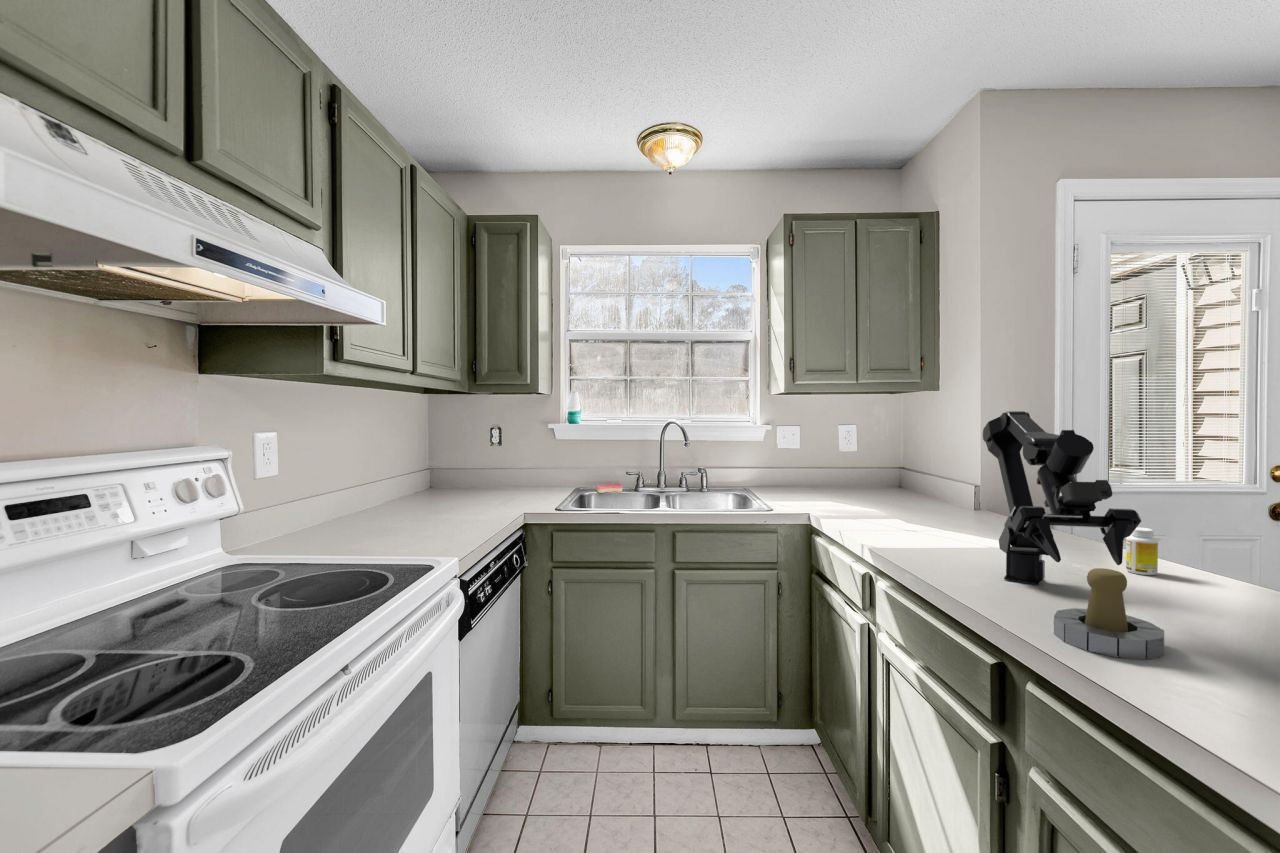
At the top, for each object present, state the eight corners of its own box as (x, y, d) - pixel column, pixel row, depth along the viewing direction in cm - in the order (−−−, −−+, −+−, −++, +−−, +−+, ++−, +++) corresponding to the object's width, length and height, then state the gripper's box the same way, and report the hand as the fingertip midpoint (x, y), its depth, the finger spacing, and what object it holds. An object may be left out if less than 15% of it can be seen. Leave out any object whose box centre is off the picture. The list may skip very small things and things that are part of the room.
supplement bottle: (1163, 575, 133) (1164, 530, 133) (1144, 577, 132) (1145, 532, 132) (1138, 568, 138) (1138, 525, 138) (1119, 570, 137) (1120, 527, 137)
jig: (1048, 642, 96) (1048, 624, 96) (1061, 619, 106) (1061, 603, 106) (1162, 667, 87) (1162, 647, 86) (1165, 639, 97) (1165, 621, 97)
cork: (1076, 627, 100) (1077, 564, 100) (1117, 630, 99) (1118, 566, 98) (1093, 641, 94) (1094, 573, 94) (1137, 644, 93) (1138, 576, 93)
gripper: (1018, 463, 109) (1042, 535, 98) (1136, 464, 104) (1174, 540, 94) (1002, 498, 117) (1023, 568, 106) (1111, 500, 112) (1144, 574, 102)
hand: (1089, 562), depth 102 cm, fingers open, 9 cm apart
